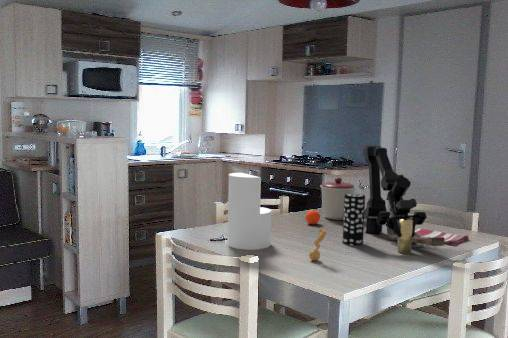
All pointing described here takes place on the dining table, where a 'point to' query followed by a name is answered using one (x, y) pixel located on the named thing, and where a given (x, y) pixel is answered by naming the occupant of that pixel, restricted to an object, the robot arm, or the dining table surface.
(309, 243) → the dining table surface
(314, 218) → the clementine
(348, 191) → the canister
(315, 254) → the figurine
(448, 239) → the dish towel
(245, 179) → the white stepped pillar
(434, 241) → the balance beam
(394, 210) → the robot arm
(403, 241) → the brass weight
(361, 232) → the spotted tube
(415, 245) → the beam stand
